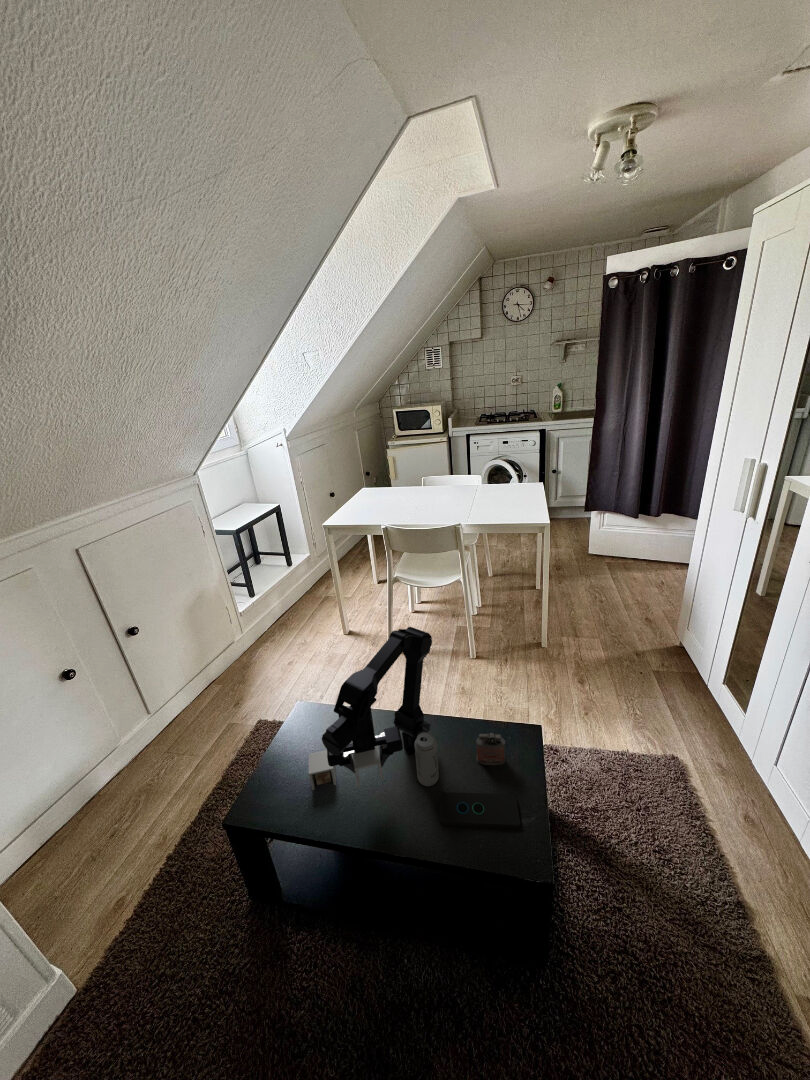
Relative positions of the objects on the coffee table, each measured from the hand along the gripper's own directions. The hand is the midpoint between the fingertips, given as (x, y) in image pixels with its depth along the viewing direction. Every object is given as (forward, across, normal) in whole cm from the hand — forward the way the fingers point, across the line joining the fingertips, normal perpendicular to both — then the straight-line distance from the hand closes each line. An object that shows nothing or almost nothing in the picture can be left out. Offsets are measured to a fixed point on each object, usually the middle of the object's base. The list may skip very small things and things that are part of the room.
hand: (368, 768), depth 110 cm
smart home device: (+12, -26, +10) cm, 31 cm away
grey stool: (+1, 0, 0) cm, 1 cm away
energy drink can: (+12, -16, -2) cm, 20 cm away
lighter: (+12, -35, -3) cm, 37 cm away
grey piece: (+12, +13, -10) cm, 20 cm away
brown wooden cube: (+12, +13, -10) cm, 20 cm away
